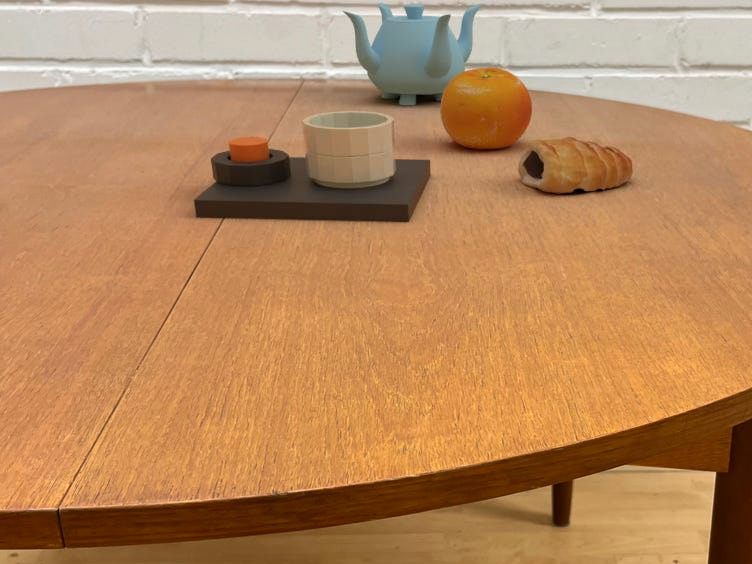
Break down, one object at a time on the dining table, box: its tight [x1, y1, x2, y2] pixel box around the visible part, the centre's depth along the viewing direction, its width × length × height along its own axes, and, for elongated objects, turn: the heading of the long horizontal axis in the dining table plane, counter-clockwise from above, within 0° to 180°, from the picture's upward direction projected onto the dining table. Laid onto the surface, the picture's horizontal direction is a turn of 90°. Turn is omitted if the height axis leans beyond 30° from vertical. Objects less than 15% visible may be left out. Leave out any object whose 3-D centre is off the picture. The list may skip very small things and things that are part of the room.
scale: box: [193, 148, 431, 223], centre depth 77 cm, size 16×14×3 cm
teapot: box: [342, 2, 483, 106], centre depth 112 cm, size 13×13×10 cm
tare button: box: [228, 136, 270, 162], centre depth 76 cm, size 3×3×2 cm
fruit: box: [440, 67, 533, 151], centre depth 91 cm, size 8×8×8 cm
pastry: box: [517, 136, 634, 195], centre depth 80 cm, size 9×7×4 cm
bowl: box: [301, 110, 397, 188], centre depth 76 cm, size 7×7×4 cm
